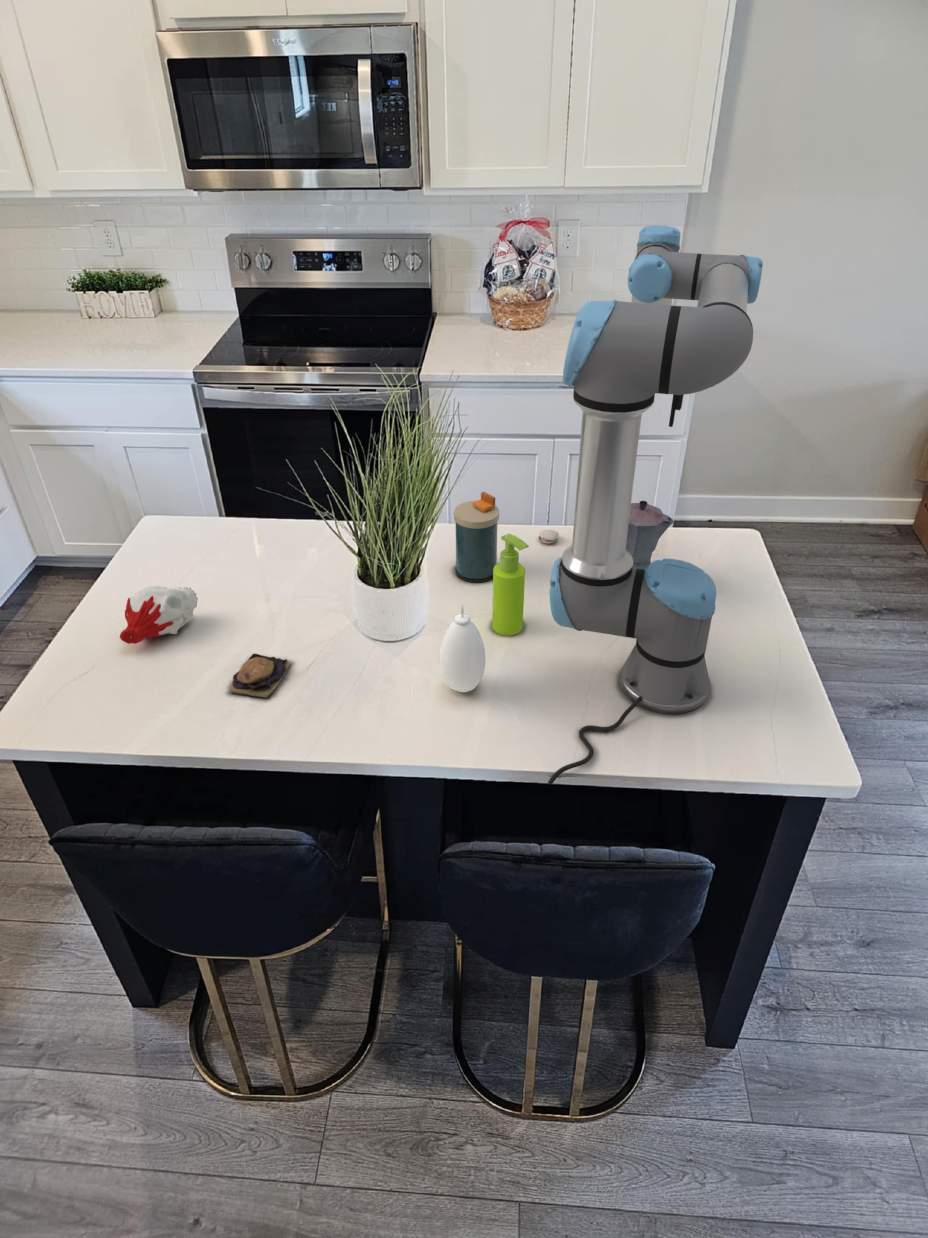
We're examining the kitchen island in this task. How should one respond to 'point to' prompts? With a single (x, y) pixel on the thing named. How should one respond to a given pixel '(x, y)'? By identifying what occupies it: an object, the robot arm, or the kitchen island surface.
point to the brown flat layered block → (259, 676)
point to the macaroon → (548, 536)
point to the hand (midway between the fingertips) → (637, 420)
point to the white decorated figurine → (157, 612)
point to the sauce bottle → (462, 654)
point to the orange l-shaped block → (485, 502)
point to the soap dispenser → (509, 588)
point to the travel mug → (475, 542)
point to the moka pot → (645, 532)
